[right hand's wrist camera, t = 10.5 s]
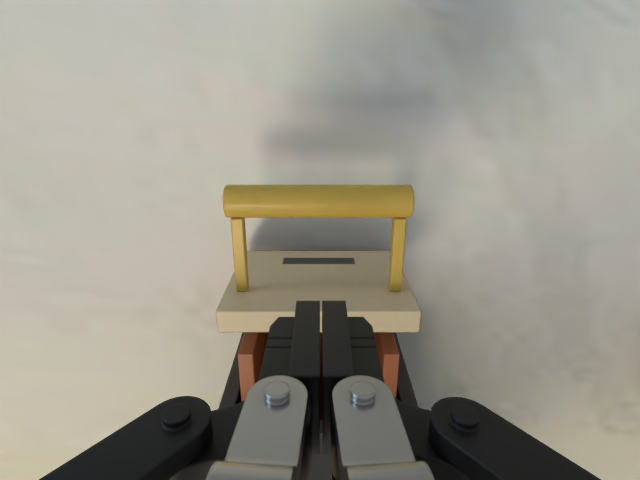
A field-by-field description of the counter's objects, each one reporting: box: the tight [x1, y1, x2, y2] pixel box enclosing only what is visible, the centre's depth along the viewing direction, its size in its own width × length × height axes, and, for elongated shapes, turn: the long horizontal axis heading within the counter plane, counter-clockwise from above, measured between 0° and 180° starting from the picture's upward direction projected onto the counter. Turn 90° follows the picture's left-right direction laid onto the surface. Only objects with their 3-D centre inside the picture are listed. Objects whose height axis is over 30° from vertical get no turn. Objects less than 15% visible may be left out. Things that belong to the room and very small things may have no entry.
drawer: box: [216, 185, 421, 420], centre depth 25 cm, size 20×10×8 cm, turn 0°
